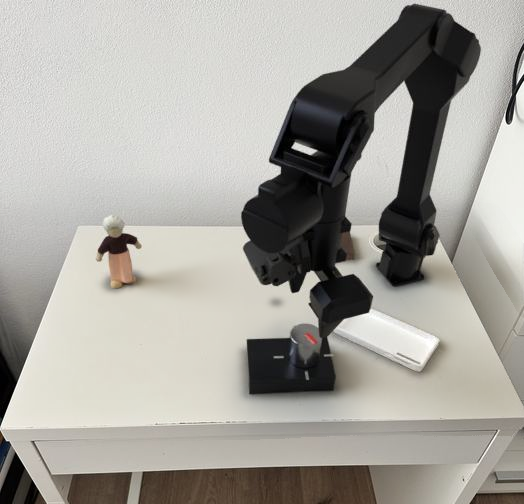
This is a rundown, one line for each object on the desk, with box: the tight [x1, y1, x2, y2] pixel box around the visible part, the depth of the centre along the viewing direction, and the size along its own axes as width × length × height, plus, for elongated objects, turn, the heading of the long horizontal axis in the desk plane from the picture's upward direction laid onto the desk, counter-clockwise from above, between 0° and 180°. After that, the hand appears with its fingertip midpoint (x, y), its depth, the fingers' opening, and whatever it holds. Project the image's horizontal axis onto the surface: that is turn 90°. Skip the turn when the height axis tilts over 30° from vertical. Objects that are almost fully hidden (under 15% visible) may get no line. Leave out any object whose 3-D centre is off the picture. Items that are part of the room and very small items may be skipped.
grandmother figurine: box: [95, 214, 143, 289], centre depth 88 cm, size 8×4×13 cm, turn 131°
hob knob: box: [288, 322, 322, 368], centre depth 75 cm, size 4×4×5 cm
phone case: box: [332, 307, 440, 372], centre depth 83 cm, size 7×1×15 cm
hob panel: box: [246, 337, 337, 395], centre depth 77 cm, size 12×9×3 cm
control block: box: [341, 231, 355, 261], centre depth 98 cm, size 12×7×4 cm, turn 91°
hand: (308, 313), depth 70 cm, fingers open, 9 cm apart
